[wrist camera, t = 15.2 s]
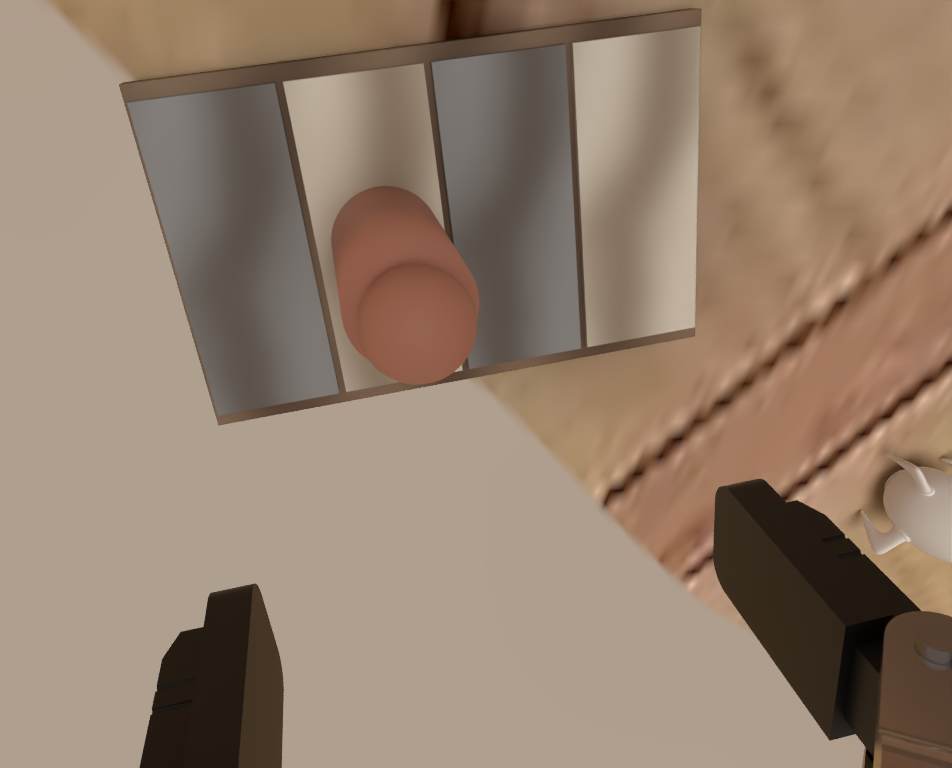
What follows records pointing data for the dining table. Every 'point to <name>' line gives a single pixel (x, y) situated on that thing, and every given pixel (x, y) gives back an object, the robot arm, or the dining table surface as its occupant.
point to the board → (432, 197)
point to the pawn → (403, 286)
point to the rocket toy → (916, 511)
